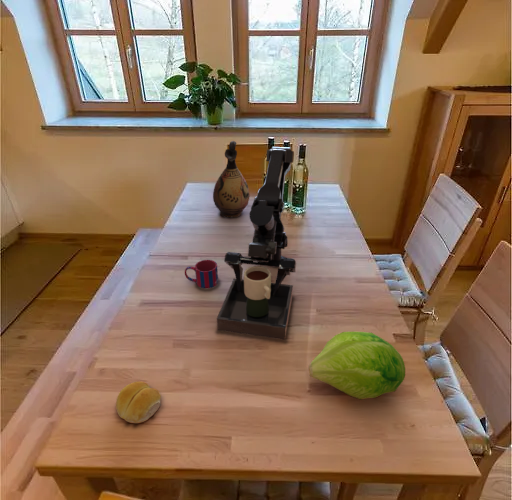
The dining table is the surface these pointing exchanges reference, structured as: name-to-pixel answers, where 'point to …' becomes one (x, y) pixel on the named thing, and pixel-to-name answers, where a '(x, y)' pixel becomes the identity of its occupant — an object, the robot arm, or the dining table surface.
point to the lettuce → (359, 365)
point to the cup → (205, 273)
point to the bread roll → (137, 402)
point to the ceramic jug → (231, 187)
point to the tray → (265, 326)
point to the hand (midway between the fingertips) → (256, 294)
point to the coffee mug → (257, 290)
